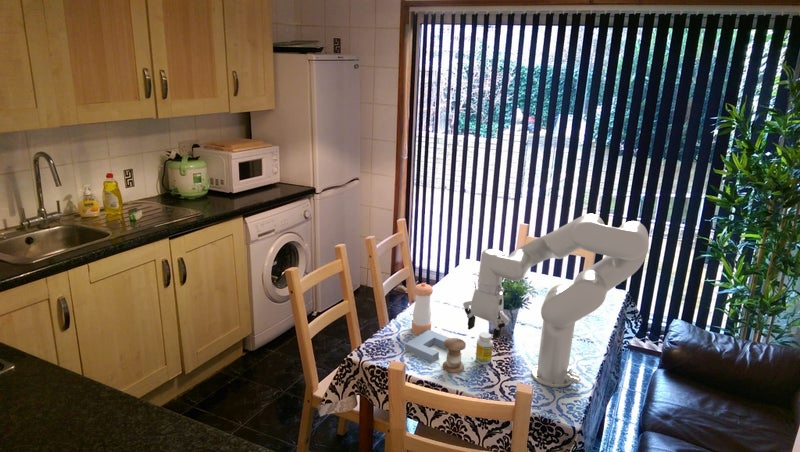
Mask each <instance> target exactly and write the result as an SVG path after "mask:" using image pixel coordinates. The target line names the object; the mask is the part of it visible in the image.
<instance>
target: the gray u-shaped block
mask: <svg viewBox="0 0 800 452" xmlns="http://www.w3.org/2000/svg"><path fill="white" fill-rule="evenodd" d="M449 338H450V337H448V336H447V335H446V336H445V335H443V334H441V333H439V332H436V331H434V330H432V329H431V330H428V331H426V332H424V333H422V334H421V335H418V336H415V337H414V338H412V339H410V340H409V341H407V342H405V344H404V350H405V351H406V352H408V353H411V354H412V355H415V356H417V357H420V358H422V359H424V360H426V361H428V362H430V363H434V362H435V361H437V360H438V359H439V356H440V351H438V350H436V349H433V348H431V347H432V346H433V345H436V346H438V347H441V348H443V349H445V350H447V351H448V349H447V348H446V347H445V346H444V341H445V340H446V339H449Z"/></svg>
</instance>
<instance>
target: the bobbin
mask: <svg viewBox="0 0 800 452" xmlns="http://www.w3.org/2000/svg"><path fill="white" fill-rule="evenodd" d="M448 338H449V339H446V340H445V341H444V346H445V347H446V348H447V349H448V350H447V349H446V350H447V351H446V360H444V362H443V363H442V370H443V371H444V372H447V373H449V374H460V373H462V372H463V371H464V370H465V368H464V367H465V365H464V364H463V362H462V352H461V351H462V350H463V351H464V350H465V349H466V345H467V344H466V341H464V340H463V339H460V338H458V337H457V338H456V337H448Z"/></svg>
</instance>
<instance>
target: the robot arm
mask: <svg viewBox="0 0 800 452" xmlns="http://www.w3.org/2000/svg"><path fill="white" fill-rule="evenodd" d="M603 220H604V219H602V218H601V217H600V216H599V215H597V214H594V213H586V214H583V215H581V216H579V217H577V218H575V219H574V220H572V221H570V222H568V223H566V224H564V225H563V226H560V227H559V228H557V229H555V230H553V231H551V232H549V233H547V234H545V235H541V236H540V237H538V238H536V239H535V238H534V239H533V240H532V241H529V242H528V243H526V244H523V245H522V246H520V247H517V248H516V249H514V250H513V251H512V252H511V253H510V254H509V255H508V256H506V255H505V253H504V252H503V251H501V250H500V249H495V248H487V249H484V250H483V251H482V252H481V257H480V262H479V263H480V264H479V272H478V279H477V280H478V281H477V286H476V287H475V290H474V292H473V294H472V295H473V296H472V299H471V300H468V301H465V302H463V304H462V305H463V308H464V311H465V314H466V318H467V319H468V320H467V329H468V330H471V329H473V328H475V325H476V324H475V323H476V317H477V318H480V319H481V320H485V321H487V322H490V323H493V326H494V327H495V328H494V329H493V334H492V340H493V341H496V340H497V339H498V338H500V337H501V331H502V328H504V327H505V326H507V325H508V324H509V322H510V321H511V318H510V317H508V315H506V313H504V294H503V293H504V292H505V287H503V286H502V285H503V284H502V281H503V279H504V280H508V281H511V282H519V281H521V280H522V279H523V278H524V277H525V276H526V273H528V271H529V269H530V268H532V267H534V266H536V265H538V264H540V263H543V262H544V261H546V260H550V259H555V260H556V259H557V260H561V259H564V258H566V257H568V256H570V255H572V254H574V253H575V252H578V251H579V250H583V251H587V252H590V253H594V254H598V255H602V256H605V257H604V258H602V259H601V260H599V261H598V262H596V263H594V264H593V265H590V266H589V267H587V268H586V269H584V270H582V271H580V272H579V273H578V274H577V275H576V277H575V279H574V281H573V284H571V285H568V284H567V285H566V284H556V285H554V286H553V287H552V288H550V289H549V291H547V293H546V296H545V298H544V300H543V303H542V306H541V308H540V315H541V318H542V320H543V321H542V327H541V335H540V343H539V351H538V360H537V361H538V362H537V365H534V366H533V368H532V369H531V376H532V378H533V380H534V381H536V382H537V383H539V384H540V385H543V386H545V387H550V388H557V389H559V387H560V388H565V387H568V386H569V385H571V383H572V384H575V385H578V386H579V384H580V382H581V381H580V380H581V379H580V378H579V377H580V375H579V374H578V373H574V372H573V371H572V366H570V359H571V351H572V344H573V339H574V338H573V337H574V333H575V331H574V330H575V325H576V322H577V321H579V320H581V319H583V318H584V317H587V316H588V315H589V314H591V313H593V312H595V311H596V310H598V309H599V308H600V307H601V306H602V305H603V303H604V302H605V300H606V298H607V293H608V292H609V291H611V290H612V289H614V288H615V287H617V286H618V285H620V284H622V282H624V281H626V280H627V279H629V278H631V276H633V275H634V274H635V273H637V271H638V270H639V269H640V268H641V266H642V265H643V263H644V262H645V260H646V257H647V254H648V253H649V246H650V243H649V242H650V241H649V233H648V230H647V228H646V226H645V225H644V224H642V223H641V222H640V221H636V220H631V221H630V220H629V221H627V222H624V223H622V224H620V226H619V227H615V226H609V225H606V224H605V222H604V221H603ZM502 320H503V321H502Z"/></svg>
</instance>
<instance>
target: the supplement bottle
mask: <svg viewBox="0 0 800 452" xmlns="http://www.w3.org/2000/svg"><path fill="white" fill-rule="evenodd" d="M492 340H493V339H492V334H491V333H490V332H485V331H484V332H480V333H479V335H478V339H477V340H476V350H475V361H476V362H477V363H479V364H483V365H487V364H490V363H491V362H492V358H493V357H492V356H493V348H494V347H493V346H494V341H492Z"/></svg>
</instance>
